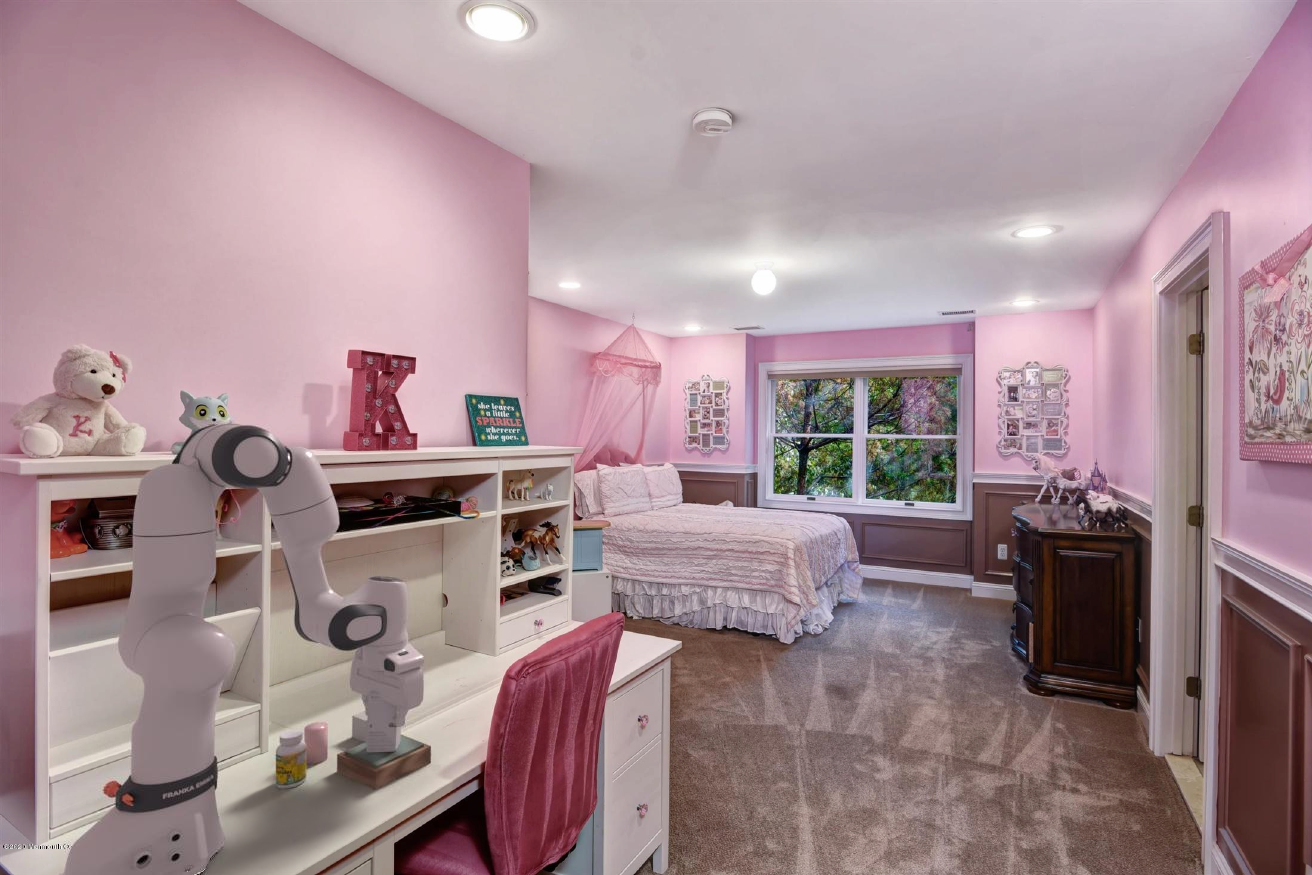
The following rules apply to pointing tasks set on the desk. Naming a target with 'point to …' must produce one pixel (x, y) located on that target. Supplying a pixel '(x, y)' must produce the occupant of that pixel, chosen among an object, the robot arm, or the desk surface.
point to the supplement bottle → (291, 759)
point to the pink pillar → (316, 742)
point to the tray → (383, 762)
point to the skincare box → (381, 725)
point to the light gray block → (359, 726)
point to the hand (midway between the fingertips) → (384, 720)
